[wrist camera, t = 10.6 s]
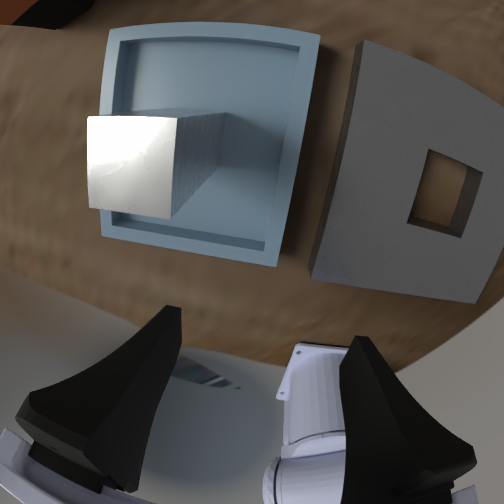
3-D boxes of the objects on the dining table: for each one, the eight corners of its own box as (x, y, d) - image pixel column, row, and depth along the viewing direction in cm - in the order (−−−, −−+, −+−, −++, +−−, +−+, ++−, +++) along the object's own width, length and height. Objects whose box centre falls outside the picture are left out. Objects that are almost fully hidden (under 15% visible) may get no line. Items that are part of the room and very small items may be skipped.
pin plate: (465, 290, 21) (475, 303, 19) (308, 264, 21) (310, 279, 20) (521, 128, 13) (536, 132, 12) (355, 45, 14) (364, 39, 12)
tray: (276, 252, 21) (276, 267, 19) (114, 225, 21) (102, 235, 20) (316, 42, 14) (320, 35, 12) (124, 34, 14) (110, 29, 12)
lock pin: (219, 166, 18) (170, 219, 10) (166, 160, 18) (89, 207, 10) (226, 112, 16) (177, 118, 8) (171, 107, 16) (88, 116, 8)
